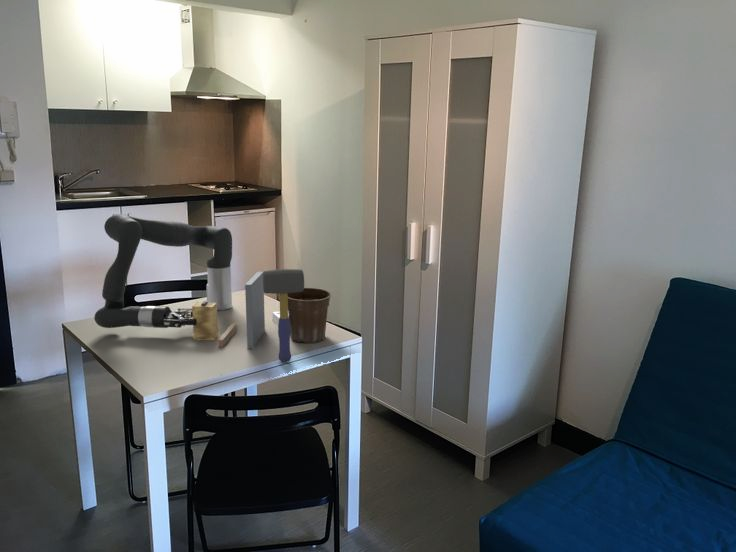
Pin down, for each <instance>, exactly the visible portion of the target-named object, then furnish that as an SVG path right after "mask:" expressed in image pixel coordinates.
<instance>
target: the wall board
mask: <svg viewBox="0 0 736 552" xmlns="http://www.w3.org/2000/svg"><path fill="white" fill-rule="evenodd" d="M263 272H264V271H257V272H256V273H255V274H254V275H253V276H252V277H251V278H250V279H249V280H248V281H247V282H246V283H245V284H244V289H245V290H244V292H245V294H244V295H245V317H246V320H245V321H246V343H247V344H246V346H247V349H254V348H255V346H256V345H257V343H258V342H259V340H260V339H261V337H262V336H263V335H264V333H265V331H266V327H265V326H266V323H265V322H266V321H265V319H266V318H265V317H266V316H265V293H264V291H263ZM237 330H238V325H237V322H236V323H235V322H232V323H231V325H229V327H228V328H227V329H226V330H225V331H224V333H222V335H221V336H220V337H219V339H217V342H218V344H217V345H218V348H224V346H226V345H227V344H228V342H229V341H230V340H231V338H232V337H233V335H234V334H235V333H236V332H237Z"/></svg>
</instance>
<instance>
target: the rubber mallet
mask: <svg viewBox="0 0 736 552" xmlns="http://www.w3.org/2000/svg"><path fill="white" fill-rule="evenodd" d="M262 272H263V291H264V294H271V295H272V294H273V295H274V294H276V295H278V294H279V311H280V318H279V324H278V325H277V334H278V341H279V345H278V346H279V347H278V349H279V350H278V351H279V352H278V354H277V355H278V356H277V357H278V360H279V361H280V363H283V364H284V363H285V364H286V363H289V362H290V361H291V359H292V353H291V344H290V343H291V342H290V341H291V340H290V339H291V336H290V322H289V318H288V293H294V292H302V291H303V290H304V288H305V274H304V271H303V270H302V269H299V268H297V269H296V268H295V269H294V268H293V269H292V268H290V269H288V268H286V269H285V268H280V269H271V270H264V271H262Z"/></svg>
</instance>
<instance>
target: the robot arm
mask: <svg viewBox="0 0 736 552" xmlns="http://www.w3.org/2000/svg"><path fill="white" fill-rule="evenodd" d="M104 232H105V233H106V235H107V236H108V237H109V238H110V239H112V240H113V241H115V242H117V243H118V247H117V248H118V249H117V255H116V258H115V259H114V261H113V263H112V264H111V266H110V267H109V268H108V270H107V272H106V274H105V276H104V281H103V286H102V292H101V293H102V298H103V300H104V301H105V303H104V306H103V307H101V308H99V309H98V310H97V311H96V312H95V313H94V317H93V318H94V322H95V323H96V324H97V326H99V327H101V328H105V329H114V328H123V327H144V328H152V329H153V328H154V329H155V328H158V329H168V328H178V329H179V328H182V327H185V326H193V325H196V324H197V320H196V319H193V312H192V308H186V307H185V308H180V307H179V308H177V310H174V311H172V309H171V308H170V307H169V306H163V305H161V306H160V305H159V306H158V305H146V306H140V305H139V306H137V305H135V306H134V305H133V306H132V305H131V306H127V307H125V301H124V296H125V295H124V294H125V291H126V286H127V280H128V275H129V272H130V269H131V266H132V263H133V260H134V258H135V256H136V252H137V250H138V246H139V244H140V241H141V240H142V241H146V242H149V243H153V244H157V245H160V246H164V247H165V246H166V247H175V248H176V247H181V248H182V247H187V246H198V247H203V248H206V249H210V250H213V257H209V258H207V260H206V272H207V274H206V275H207V284H206V285H205V286H206V301H207V302H208V303H217V311H223V310H228V309H229V310H230V309H231V308H232V307H233V295H232V293H233V291H232V271H231V269H232V268H231V262H232V259H233V236H232V233H231V231H230V229H228V228H227V227H223V226H215V225H206V226H203V225H202V226H194V225H191V224H188V223H184V222H180V221H172V220H162V219H143V218H138V217H134V216H129V215H126V214H120V213H118V214H114V215H111V216H110V217H109V218H107V219H106V221H105V223H104Z"/></svg>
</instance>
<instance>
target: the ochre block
mask: <svg viewBox="0 0 736 552" xmlns="http://www.w3.org/2000/svg"><path fill="white" fill-rule="evenodd" d="M191 309H192V312H193V318H192V319H196V320H197V324H196V325H192V326H193V340H195V341H198V340H197V339H200V341H215V340H216V339H217V337H218V336H219V327H218V326H219V325H218V323H219V321H218V310H217V303H208V302H207V300H203V302H199V301H198V302H195V303H194V304H193V305H192V306H191Z"/></svg>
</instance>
